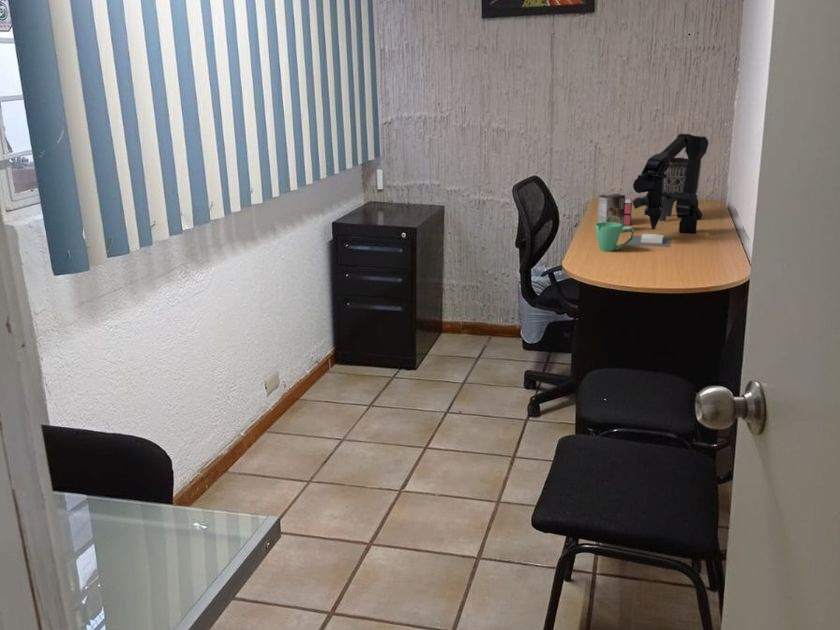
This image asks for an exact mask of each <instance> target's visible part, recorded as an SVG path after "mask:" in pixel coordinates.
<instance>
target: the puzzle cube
mask: <svg viewBox="0 0 840 630" xmlns="http://www.w3.org/2000/svg"><path fill="white" fill-rule="evenodd" d="M632 207H633V202H632V199H629V198H627V199H626V198H625V214H624V226H631V225H632V209H633V208H632Z"/></svg>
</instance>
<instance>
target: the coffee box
mask: <svg viewBox="0 0 840 630" xmlns="http://www.w3.org/2000/svg"><path fill="white" fill-rule="evenodd" d="M625 199H626V195H624V194H622V193H621V194H620V193H610V194H600V195H598V206H597V207H598V210H597V211H598V212H597V223H601V222H614V223H619V224H621V225H622V227H625V225H624V214H625ZM622 227H621V228H622ZM624 232H625V231H621V232H620V233H624Z"/></svg>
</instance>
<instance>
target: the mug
mask: <svg viewBox="0 0 840 630" xmlns="http://www.w3.org/2000/svg"><path fill="white" fill-rule="evenodd" d="M594 226H595V231H596V238H597V242H598V246H599V249H600V251H602V252H605V251H606V252H608V253H610V252H614V250H617V249H620V248H623V247H625V246H627V244H628V243H629V242H630V241H631V240H632V239H633V236H635V235H634V234H635V230H634V228H633V227H632V226H624V227H622V225H621V224H619V223H614V222H601V223H598V222H597V223H595V225H594ZM621 227H622V228H621ZM621 231H624V232H625V231H630V236H629V237H628V239H627V240H626V241H624V243H621V244H619V245H617V244H618V241H619V239H620V234H621V233H622V232H621Z"/></svg>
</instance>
